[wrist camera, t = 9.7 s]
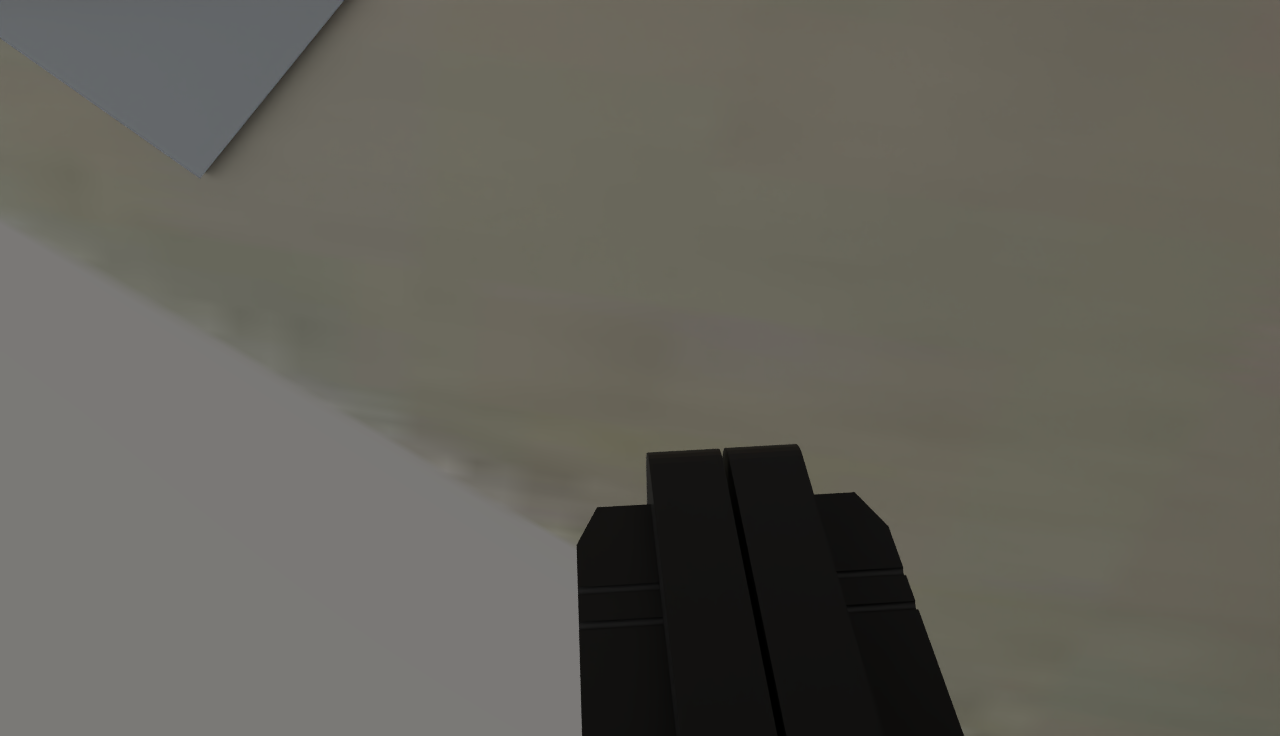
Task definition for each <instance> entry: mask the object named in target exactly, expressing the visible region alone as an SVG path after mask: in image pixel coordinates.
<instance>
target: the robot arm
mask: <svg viewBox="0 0 1280 736" xmlns="http://www.w3.org/2000/svg"><path fill="white" fill-rule="evenodd" d="M646 476H647V505H630V506H613V507H597V509H596V510H595V512H594V514H593V516H592V518H591V520H590V521H589V523H588V525H587V527H586V529H585V531H584V533H583V534H582V536H581V538H580V540H579V542H578V544H577V573H578V608H579V641H580V642H579V643H580V677H581V713H582V736H964V734H963V732H962V729H961V726H960V723H959V721H958V718H957V715H956V712H955V710H954V707H953V704H952V701H951V698H950V696H949V693H948V690H947V687H946V685H945V682H944V679H943V676H942V674H941V671H940V668H939V665H938V662H937V660H936V657H935V654H934V651H933V649H932V646H931V643H930V640H929V638H928V635H927V632H926V629H925V626H924V624H923V621H922V618H921V615H920V613H919V610H918V609H917V610H916V607H915V599H914V596H913V593H912V590H911V588H910V585H909V582H908V579H907V577H906V575H904V574H903V566H902V563H901V560H900V557H899V554H898V552H897V549H896V546H895V543H894V541H893V538H892V535H891V532H890V529H889V527H888V526H887V525H886V524H885V523H884V521H883V520H882V519H881V518H880V517H879V516H878V515H877V514H876V513H875V512H874V511H873V510H872V509H871V508H870V507H869V506H868V505H867V504H866V503H865V502H864V501H863V500H862V499H861V498H860V497H859V496H858V495H857V494H856V493H855V492H851V493H834V494H817V495H814V493H813V490H812V486H811V483H810V480H809V476H808V473H807V469H806V466H805V462H804V459H803V456H802V453H801V450H800V448H799V446H798V445H797V444H789V445H771V446H753V447H735V448H724V451H723V456H722V455H721V452H720V450H719V449H704V450H686V451H668V452H650V453H647V456H646Z"/></svg>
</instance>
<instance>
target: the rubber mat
mask: <svg viewBox="0 0 1280 736" xmlns="http://www.w3.org/2000/svg"><path fill="white" fill-rule="evenodd" d="M343 1H344V0H0V38H1V39H2V40H3V41H5V42H6V43H8V44H9V45H11V46H12V47H13V48H15V49H16V50H18V51H19V52H21V53H22V54H23V55H25V56H26V57H28V58H29V59H30V60H32V61H33V62H35V63H36V64H38V65H39V66H40V67H42V68H43V69H45V70H46V71H48V72H49V73H50V74H52V75H53V76H55V77H56V78H58V79H59V80H60V81H62V82H63V83H65V84H66V85H68V86H69V87H70V88H72V89H73V90H75V91H76V92H77V93H79V94H80V95H82V96H83V97H85V98H86V99H87V100H89V101H90V102H92V103H93V104H95V105H96V106H97V107H99V108H100V109H102V110H103V111H105V112H106V113H107V114H109V115H110V116H112V117H113V118H115V119H116V120H117V121H119V122H120V123H122V124H123V125H124V126H126V127H127V128H129V129H130V130H132V131H133V132H134V133H136V134H137V135H139V136H140V137H142V138H143V139H144V140H146V141H147V142H149V143H150V144H152V145H153V146H154V147H156V148H157V149H159V150H160V151H162V152H163V153H164V154H166V155H167V156H169V157H170V158H171V159H173V160H174V161H176V162H177V163H179V164H180V165H181V166H183V167H184V168H186V169H187V170H189V171H190V172H191V173H193V174H194V175H196V176H197V177H199V178H201V176H202V175H203V174H204V173H205V172H206V170H207V169H208V168H209V167H210V165H211V164H212V163H213V162H214V160H215V159H216V158H217V157H218V155H219V154H220V153H221V152H222V151H223V149H224V148H225V147H226V146H227V144H228V143H229V142H230V141H231V139H232V138H233V137H234V136H235V134H236V133H237V132H238V131H239V129H240V128H241V127H242V126H243V125H244V123H245V122H246V121H247V120H248V118H249V117H250V116H251V115H252V113H253V112H254V111H255V110H256V108H257V107H258V106H259V105H260V104H261V102H262V101H263V100H264V99H265V97H266V96H267V95H268V94H269V92H270V91H271V90H272V89H273V87H274V86H275V85H276V84H277V82H278V81H279V80H280V79H281V78H282V76H283V75H284V74H285V73H286V71H287V70H288V69H289V68H290V66H291V65H292V64H293V63H294V61H295V60H296V59H297V58H298V56H299V55H300V54H301V53H302V52H303V50H304V49H305V48H306V47H307V45H308V44H309V43H310V42H311V40H312V39H313V38H314V37H315V35H316V34H317V33H318V32H319V31H320V29H321V28H322V27H323V26H324V24H325V23H326V22H327V21H328V19H329V18H330V17H331V16H332V14H333V13H334V12H335V11H336V9H337V8H338V7H339V6H340V5H341V3H342V2H343Z"/></svg>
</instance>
